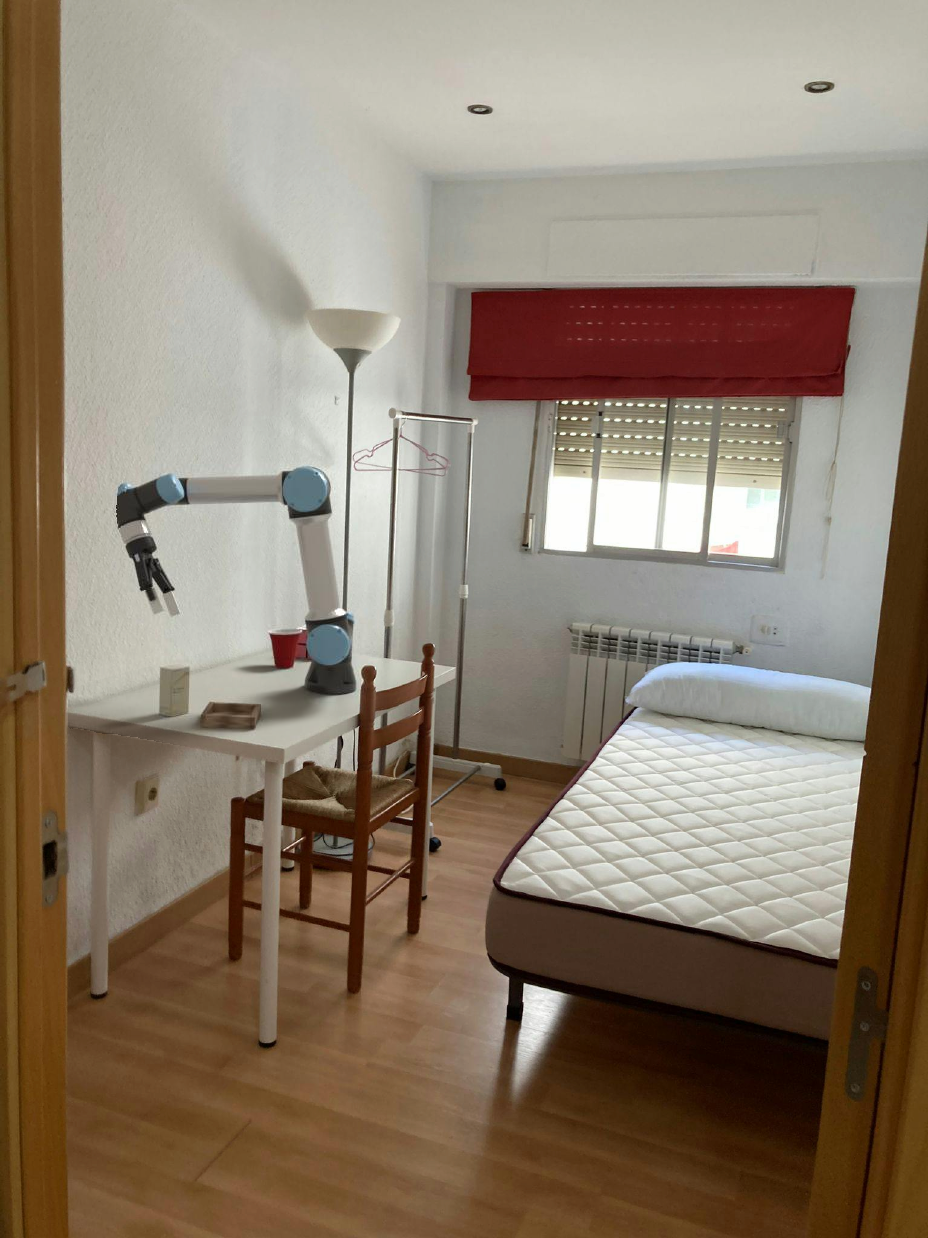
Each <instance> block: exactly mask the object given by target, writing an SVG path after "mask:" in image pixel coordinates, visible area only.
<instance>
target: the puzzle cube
mask: <svg viewBox="0 0 928 1238" xmlns="http://www.w3.org/2000/svg"><path fill="white" fill-rule="evenodd" d="M294 629H299V630H302V632H301V635H300V638H299V642H298V647H297V653H296V657H295V659H301V658H308V659H307V660H310V659H312V657H311V656H310V655H309V653H308V650H307V646H306V643H307V631H306V624H304V625H301V626H298V627H296V628H294Z"/></svg>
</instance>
